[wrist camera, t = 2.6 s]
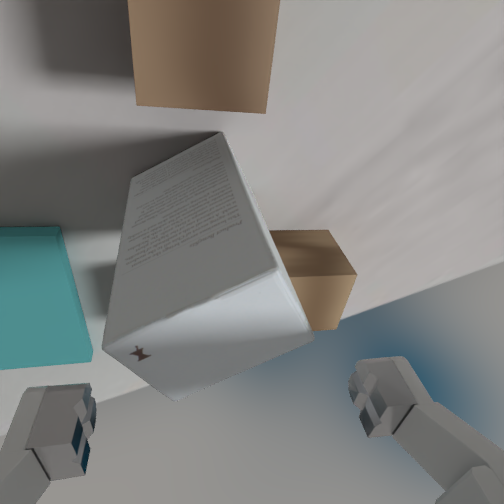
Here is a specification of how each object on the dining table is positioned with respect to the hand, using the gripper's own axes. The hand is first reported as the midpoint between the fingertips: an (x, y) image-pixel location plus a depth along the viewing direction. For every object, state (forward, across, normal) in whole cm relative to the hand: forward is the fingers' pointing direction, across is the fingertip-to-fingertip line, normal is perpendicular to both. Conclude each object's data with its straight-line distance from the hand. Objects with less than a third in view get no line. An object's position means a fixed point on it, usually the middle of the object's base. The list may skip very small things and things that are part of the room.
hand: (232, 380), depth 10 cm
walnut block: (+13, +1, -8) cm, 16 cm away
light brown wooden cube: (+13, -6, +6) cm, 16 cm away
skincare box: (+13, +1, 0) cm, 13 cm away
